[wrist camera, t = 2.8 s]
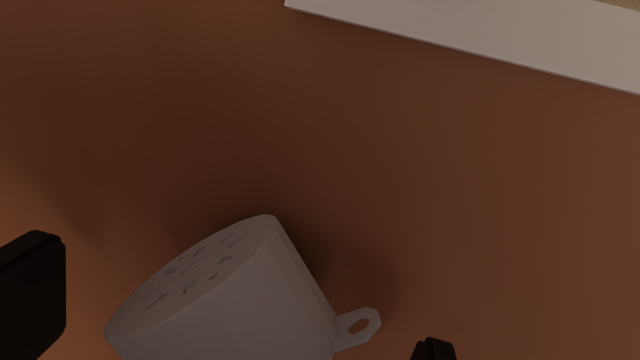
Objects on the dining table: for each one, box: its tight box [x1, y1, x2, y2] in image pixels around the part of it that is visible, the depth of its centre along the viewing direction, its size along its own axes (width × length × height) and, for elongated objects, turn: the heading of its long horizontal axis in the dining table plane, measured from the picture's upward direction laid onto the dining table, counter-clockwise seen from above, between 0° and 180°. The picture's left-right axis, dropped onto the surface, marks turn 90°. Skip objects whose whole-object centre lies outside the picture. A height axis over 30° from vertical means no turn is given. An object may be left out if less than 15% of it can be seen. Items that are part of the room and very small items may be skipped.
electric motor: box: [104, 214, 382, 360], centre depth 10 cm, size 7×5×5 cm
